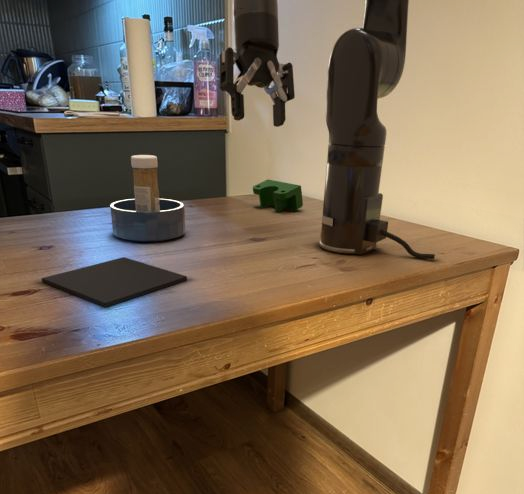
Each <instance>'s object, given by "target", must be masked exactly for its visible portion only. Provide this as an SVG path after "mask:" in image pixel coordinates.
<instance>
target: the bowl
mask: <svg viewBox="0 0 524 494" xmlns="http://www.w3.org/2000/svg"><path fill="white" fill-rule="evenodd" d="M159 204H160V211H136V205H135V198H128V199H122V200H117V201H113V202H111V203H110V204H109V207H110V217H111V226H112V235H113V236H115V237H117V238H120V239H122V240H126V241H131V242H139V243H141V242H143V243H148V242H149V243H154V242H164V241H169V240H173V239H175V238H179V237H180V236H184V234H185V233H186V219H185V218H186V215H185V213H186V212H185V204H184V203H183V202H182V201H179V200H174V199H167V198H159Z"/></svg>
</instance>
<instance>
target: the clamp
mask: <svg viewBox="0 0 524 494" xmlns="http://www.w3.org/2000/svg"><path fill="white" fill-rule="evenodd" d="M252 192H253V194H254V195H257V196H258V197H259V205H260V208H261V209H263V208H265V207H266V208H267V207H269V206H270V207H274V210H275V211H274V212H276V213H277V212H278V213H279V212H280V211H282V210H287V211H288V210H289V211H292V212H295V211H297V210H299V209H301V208H302V207H303V205H304V200H303V192H302V185H300V184H295V183H289V182H284V181H280V180H279V181H278V180H273V179H265V180H264V181H261V182H259V183H257V184H254V185H252Z"/></svg>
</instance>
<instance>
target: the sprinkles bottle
mask: <svg viewBox="0 0 524 494" xmlns="http://www.w3.org/2000/svg"><path fill="white" fill-rule="evenodd" d="M130 164H131V168H132V177H133V192H134V193H133V194H134V199H135V205H136V211H160V204H159V199H160V192H159V183H158V181H159V180H158V167H159V163H158V157H157V156H156V155H152V154H135V155H131V156H130Z"/></svg>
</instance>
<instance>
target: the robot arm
mask: <svg viewBox="0 0 524 494" xmlns="http://www.w3.org/2000/svg"><path fill="white" fill-rule="evenodd" d="M409 1H410V0H364V9H363V18H362V27H353V28H350V29H348V30H346V31H344V32H343V33H342V34H341V35H340V36H339V37H338V38H337V40H336V41H335V43H334V44H333V47H332V49H331V52H330V56H329V59H328V66H327V72H326V73H327V76H326V98H325V99H326V100H325V122H326V127H327V131H328V143H327V144H328V145H327V157H326V168H325V180H324V193H323V204H322V216H321V230H320V239H319V247H320V248H322V249H323V250H326V251H329V252H333V253H339V254H351V255H353V254H354V255H359V256H361V255H363V254H366V253H368V252H371V251H373V250H376V249H377V244H378V242H381V241H384V240H386V239H390V240H392V241H394V242H396V243H397V244H399V245H401V246H402V248H404V250H405V251H406V252H407V253H408V254H409V255H410V256H411V257H413V258H416V259H421V260H422V259H423V260H435V257H436V254H435V253H420V252H417V251H415V250H414V249H412V247H411V246H410V245H409V243H407V241H405V240H403V239H402V238H401V237H399V236H397V235H395V234H393V233H391V232H388V228H389V220H388V221H387V220H383V219H381V214H382V206H383V198H384V195H383V193H382V192H380V185H381V178H382V171H383V163H384V155H385V148H386V141H387V134H388V133H387V128H386V126H385V125H384V124H383V123H382V122H381V120H380V118H379V115H378V99H383V98H385V97H387V96H389V95H390V94H392V92H394V90H395V89H396V87H398V84H399V83H400V81H401V78H402V76H403V73H404V70H405V64H406V56H407V38H408V21H409V20H408V18H409V3H410V2H409ZM232 15H233V17H232V18H233V37H234V38H233V39H234V41H233V43H234V49H233V48H232V47H231V46H229V47H227V48H226V49H224V50H222V51H221V52H220V53H219V89H220V91H222V92H226V93H228V95H229V96H230V108H231V110H230V111H231V116H232V117H233V120H234V121H238V122H239V121H241V120H243V119H244V118H245V96H244V94H243V91H244V90H245V88H246V87H247V86H249V87H250V86H251V87H252V86H255V87H257V88H259V89H263V90H264V91H265V93H266V94H267V95H269V97H270V99H271V101H272V102H273V104H272V123H273V127H277V128H278V127H282V126H283V125H284V124H285V122H286V118H287V117H286V103H288V102H289V101H292V100H294V99H295V98H296V97H295V96H296V95H295V81H294V66H293V64H292V62H290V61H289V62H287V63H280V62H279V58H278V52H279V48H280V39H279V38H280V35H279V34H280V33H279V7H278V0H232ZM235 65H236V68H237V70H238V74H237V75H236V77H235V76H234V74H235V73H234V72H235V71H234V70H235V69H234V66H235ZM234 77H235V79H234ZM272 83H273V84H272ZM271 84H272V85H271Z"/></svg>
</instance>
